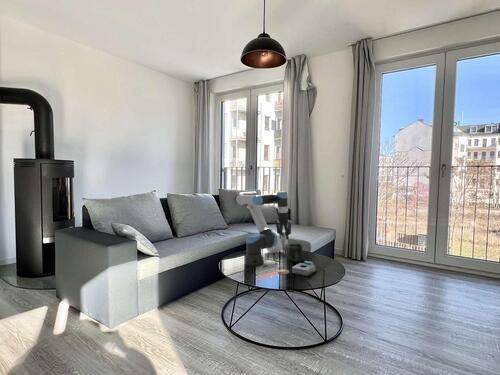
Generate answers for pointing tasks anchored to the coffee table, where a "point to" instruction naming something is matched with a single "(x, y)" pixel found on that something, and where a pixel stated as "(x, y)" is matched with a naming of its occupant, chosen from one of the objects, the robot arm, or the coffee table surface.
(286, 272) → the coaster
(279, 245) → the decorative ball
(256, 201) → the robot arm
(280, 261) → the coffee table surface
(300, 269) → the block
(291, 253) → the mug
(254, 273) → the coffee table surface
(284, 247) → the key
